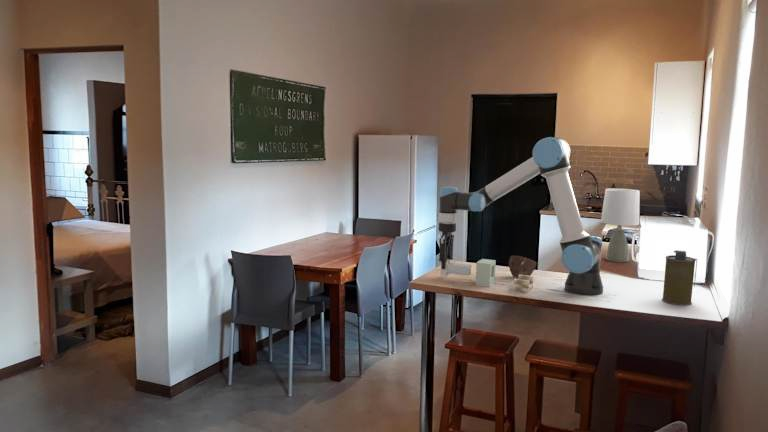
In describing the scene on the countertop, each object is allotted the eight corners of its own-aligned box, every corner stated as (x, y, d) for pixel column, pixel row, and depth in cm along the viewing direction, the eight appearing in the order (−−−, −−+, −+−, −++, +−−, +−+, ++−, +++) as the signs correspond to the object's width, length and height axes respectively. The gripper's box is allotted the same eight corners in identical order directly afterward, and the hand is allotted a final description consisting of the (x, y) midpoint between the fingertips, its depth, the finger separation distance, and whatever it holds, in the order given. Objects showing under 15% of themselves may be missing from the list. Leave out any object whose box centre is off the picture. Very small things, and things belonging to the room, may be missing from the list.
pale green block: (494, 282, 257) (495, 260, 256) (489, 286, 249) (490, 264, 248) (481, 280, 259) (482, 258, 258) (475, 285, 251) (476, 262, 250)
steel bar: (470, 273, 258) (471, 264, 258) (468, 275, 255) (468, 266, 254) (444, 270, 263) (444, 261, 263) (441, 272, 260) (441, 263, 259)
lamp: (592, 260, 310) (597, 189, 306) (605, 255, 325) (610, 187, 320) (629, 265, 299) (635, 192, 294) (641, 260, 313) (646, 190, 308)
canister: (659, 302, 231) (664, 251, 228) (664, 296, 240) (668, 247, 237) (691, 307, 225) (695, 255, 222) (694, 301, 234) (699, 251, 231)
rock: (534, 265, 271) (541, 256, 263) (531, 285, 267) (537, 277, 258) (508, 257, 272) (513, 249, 263) (503, 277, 268) (509, 269, 259)
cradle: (532, 286, 251) (533, 276, 251) (528, 292, 242) (528, 281, 241) (518, 284, 254) (519, 274, 253) (513, 290, 244) (513, 279, 243)
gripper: (445, 219, 267) (443, 270, 270) (432, 224, 252) (430, 278, 255) (461, 220, 264) (459, 272, 267) (449, 225, 249) (447, 280, 252)
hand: (445, 274), depth 261 cm, fingers closed on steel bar, 4 cm apart
